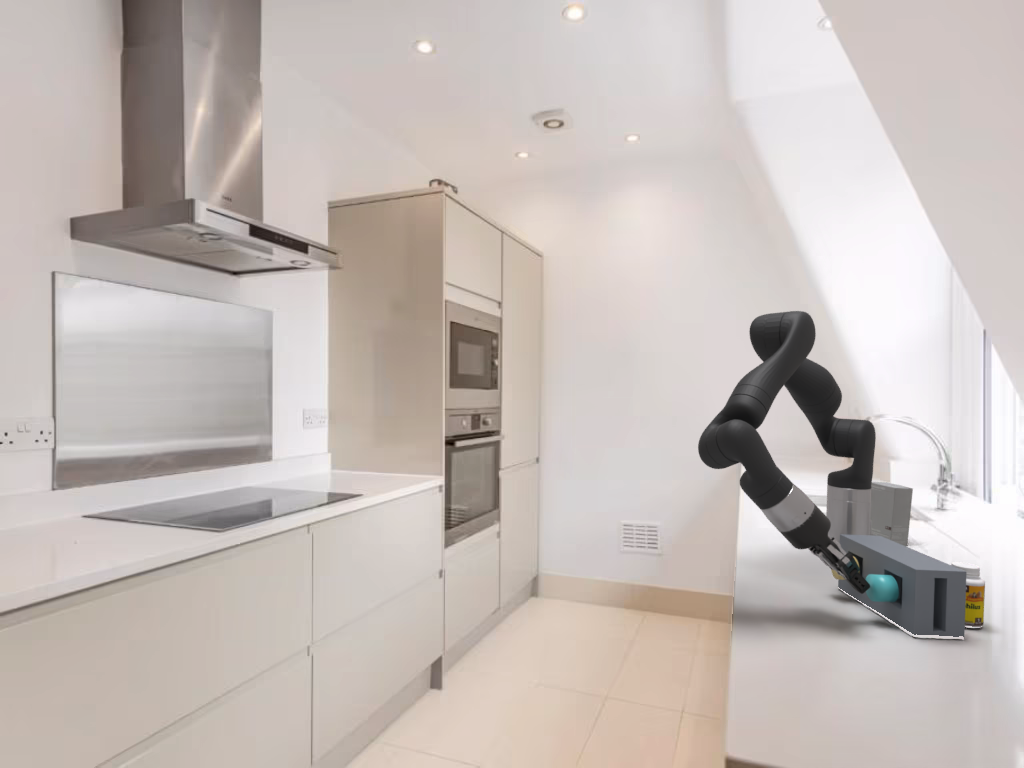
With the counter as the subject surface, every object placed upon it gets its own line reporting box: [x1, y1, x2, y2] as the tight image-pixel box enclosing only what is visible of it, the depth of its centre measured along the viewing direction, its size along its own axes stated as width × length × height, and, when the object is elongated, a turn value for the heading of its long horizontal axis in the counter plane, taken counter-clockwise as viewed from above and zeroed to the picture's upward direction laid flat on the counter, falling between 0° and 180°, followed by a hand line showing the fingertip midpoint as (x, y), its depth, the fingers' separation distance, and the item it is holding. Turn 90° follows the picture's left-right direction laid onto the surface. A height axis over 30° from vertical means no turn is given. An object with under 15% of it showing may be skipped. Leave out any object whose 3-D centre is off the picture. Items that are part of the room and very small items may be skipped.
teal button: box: [865, 574, 899, 602], centre depth 105 cm, size 3×4×4 cm
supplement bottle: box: [950, 561, 986, 627], centre depth 106 cm, size 6×6×10 cm
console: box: [837, 534, 966, 638], centre depth 111 cm, size 8×24×11 cm, turn 179°
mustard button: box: [830, 556, 860, 581], centre depth 117 cm, size 3×4×4 cm
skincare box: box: [870, 481, 914, 547], centre depth 165 cm, size 8×7×16 cm
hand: (864, 588), depth 106 cm, fingers closed
